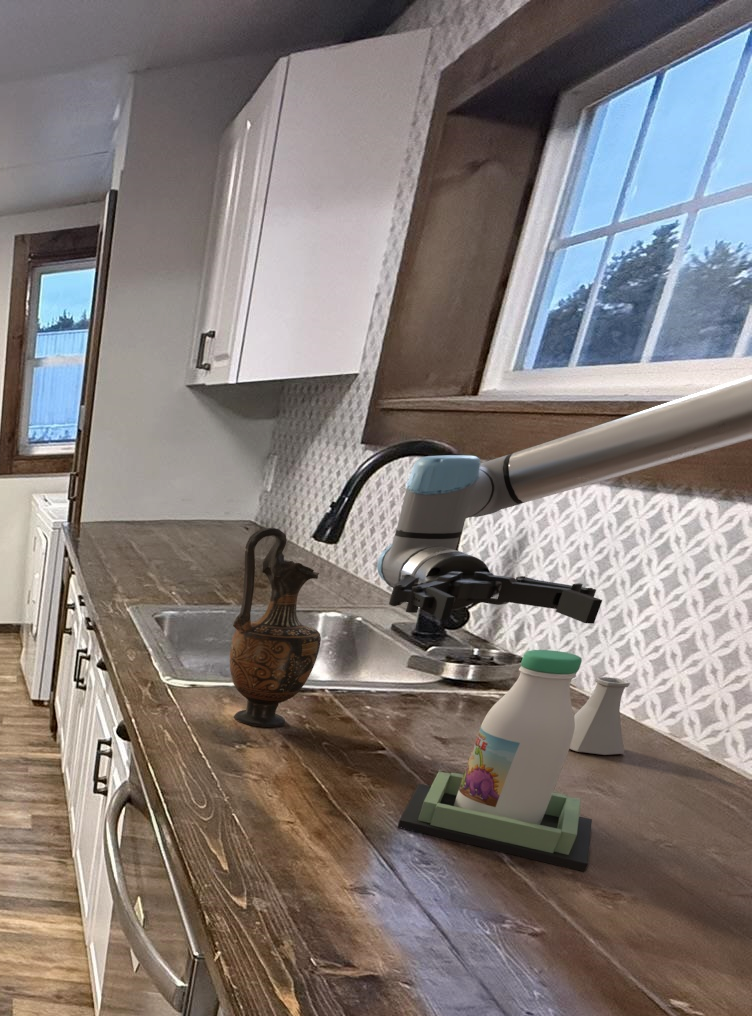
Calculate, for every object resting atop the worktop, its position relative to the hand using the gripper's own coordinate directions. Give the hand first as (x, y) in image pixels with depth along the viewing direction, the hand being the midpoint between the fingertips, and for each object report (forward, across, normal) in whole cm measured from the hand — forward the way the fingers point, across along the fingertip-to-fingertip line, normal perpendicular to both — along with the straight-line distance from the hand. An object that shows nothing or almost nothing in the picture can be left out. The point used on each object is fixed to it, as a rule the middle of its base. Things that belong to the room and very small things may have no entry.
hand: (519, 610), depth 96 cm
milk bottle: (+10, 0, -23) cm, 25 cm away
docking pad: (+10, 0, -24) cm, 26 cm away
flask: (-23, -23, -24) cm, 40 cm away
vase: (-25, +18, -24) cm, 39 cm away
